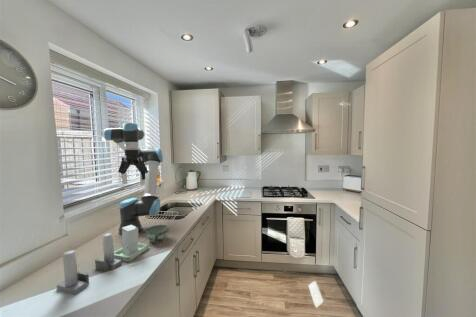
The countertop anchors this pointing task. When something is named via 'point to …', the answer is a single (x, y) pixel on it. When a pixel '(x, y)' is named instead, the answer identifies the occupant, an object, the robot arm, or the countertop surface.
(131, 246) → the skincare box
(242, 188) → the countertop surface
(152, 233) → the bowl
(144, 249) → the tray
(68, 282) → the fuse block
